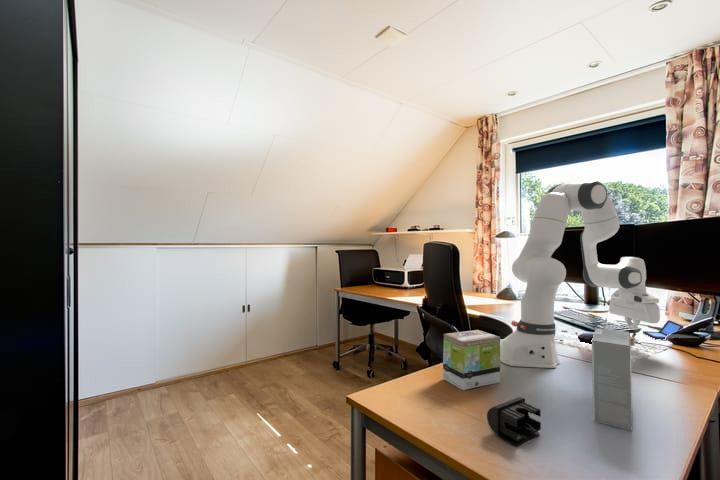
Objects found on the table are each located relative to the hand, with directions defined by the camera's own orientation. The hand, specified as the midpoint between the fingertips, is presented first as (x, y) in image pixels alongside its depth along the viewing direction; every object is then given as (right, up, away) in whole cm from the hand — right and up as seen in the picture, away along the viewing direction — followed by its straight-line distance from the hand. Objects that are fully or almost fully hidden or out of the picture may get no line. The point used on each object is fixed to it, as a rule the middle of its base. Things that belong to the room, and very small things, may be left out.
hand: (632, 329), depth 136 cm
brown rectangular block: (-1, -6, +1) cm, 6 cm away
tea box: (-78, -8, -32) cm, 85 cm away
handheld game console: (+29, -9, +18) cm, 36 cm away
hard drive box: (-48, -8, -52) cm, 72 cm away
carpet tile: (-9, -10, +10) cm, 16 cm away
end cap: (-78, -7, -61) cm, 99 cm away
